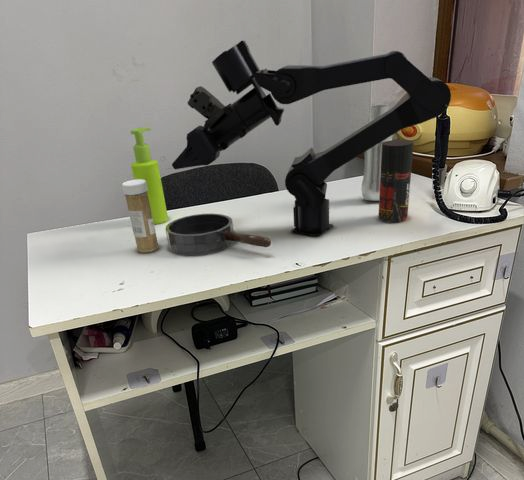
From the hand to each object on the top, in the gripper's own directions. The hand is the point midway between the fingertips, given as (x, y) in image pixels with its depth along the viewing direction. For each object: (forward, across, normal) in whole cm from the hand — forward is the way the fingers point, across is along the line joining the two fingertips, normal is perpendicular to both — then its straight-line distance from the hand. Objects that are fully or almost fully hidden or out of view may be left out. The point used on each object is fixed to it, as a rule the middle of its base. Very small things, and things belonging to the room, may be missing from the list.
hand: (180, 161), depth 97 cm
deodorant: (-30, -6, +34) cm, 46 cm away
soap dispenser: (+17, -10, +8) cm, 21 cm away
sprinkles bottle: (+13, +9, +10) cm, 19 cm away
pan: (+4, +6, +15) cm, 16 cm away
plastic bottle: (-28, -20, +32) cm, 47 cm away
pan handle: (-6, +11, +18) cm, 22 cm away
